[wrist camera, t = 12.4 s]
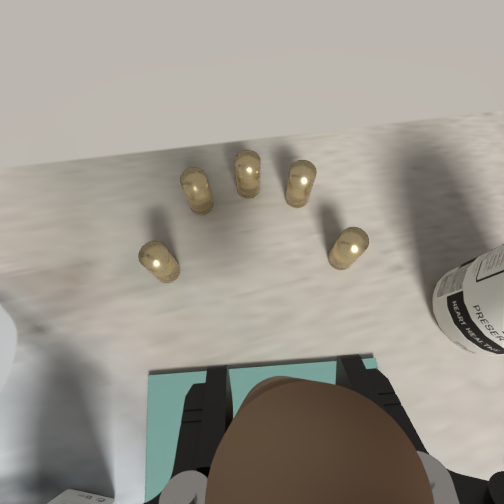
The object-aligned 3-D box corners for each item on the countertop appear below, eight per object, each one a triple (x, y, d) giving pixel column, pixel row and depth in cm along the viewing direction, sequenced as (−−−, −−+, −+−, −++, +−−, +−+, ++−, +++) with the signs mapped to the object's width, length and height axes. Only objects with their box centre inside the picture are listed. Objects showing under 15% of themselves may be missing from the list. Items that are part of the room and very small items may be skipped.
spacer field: (155, 283, 32) (137, 269, 27) (157, 184, 36) (142, 157, 31) (354, 269, 32) (371, 252, 28) (337, 172, 36) (349, 142, 31)
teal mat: (145, 557, 25) (143, 560, 25) (149, 375, 30) (148, 375, 29) (406, 535, 26) (408, 538, 25) (374, 357, 30) (375, 357, 29)
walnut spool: (241, 477, 15) (209, 672, 5) (235, 379, 16) (201, 390, 6) (333, 469, 15) (467, 648, 5) (319, 372, 16) (405, 373, 6)
